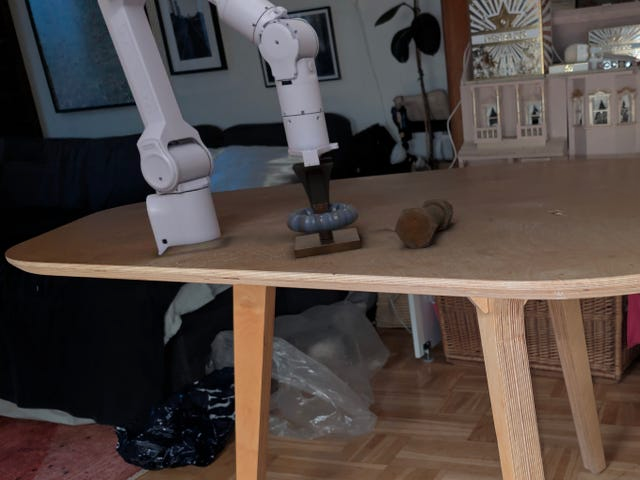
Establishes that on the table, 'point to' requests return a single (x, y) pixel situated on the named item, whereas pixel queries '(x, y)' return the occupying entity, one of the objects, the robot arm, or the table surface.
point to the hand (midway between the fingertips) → (321, 211)
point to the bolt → (423, 222)
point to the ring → (322, 218)
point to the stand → (326, 238)
